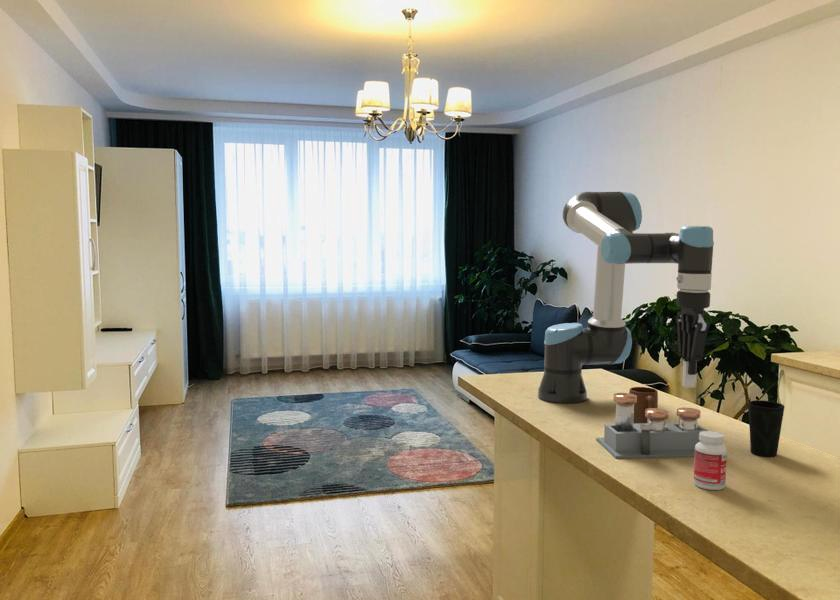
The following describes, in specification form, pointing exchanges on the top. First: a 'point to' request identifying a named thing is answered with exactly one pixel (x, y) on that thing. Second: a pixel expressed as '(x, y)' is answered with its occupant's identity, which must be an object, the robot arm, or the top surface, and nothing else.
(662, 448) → the mount
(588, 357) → the robot arm
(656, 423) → the knob mid
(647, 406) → the mug
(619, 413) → the knob
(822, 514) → the top surface
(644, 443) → the pot post
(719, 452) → the pill bottle
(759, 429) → the cup
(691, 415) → the knob
